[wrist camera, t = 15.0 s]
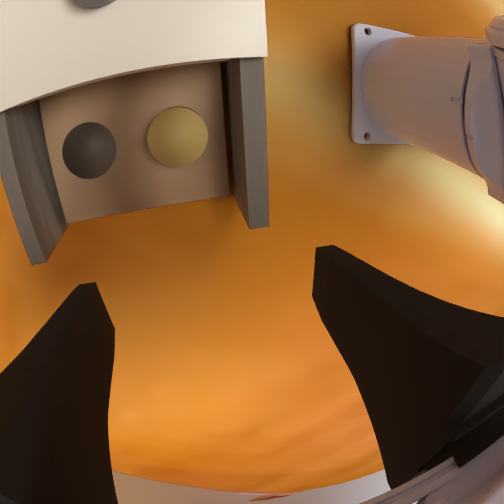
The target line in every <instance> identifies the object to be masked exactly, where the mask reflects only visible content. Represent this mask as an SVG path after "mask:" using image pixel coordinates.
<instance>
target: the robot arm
mask: <svg viewBox="0 0 504 504" xmlns="http://www.w3.org/2000/svg"><path fill="white" fill-rule="evenodd" d="M365 29H367V30H368V35H366V34H365V32H364V30H365ZM485 33H486V37H487V39H481V38H468V37H446V36H414V35H411V34H407V33H403V32H399V31H395V30H391V29H387V28H382V27H377V26H373V25H367V24H362V23H356V24H354V25H353V26H352V27H351V38H352V129H351V137H352V140H353V141H354V142H356V143H359V144H412V145H415V146H417V147H419V148H422V149H424V150H426V151H428V152H431V153H433V154H435V155H437V156H439V157H442V158H444V159H446V160H448V161H450V162H452V163H454V164H456V165H458V166H460V167H462V168H464V169H466V170H468V171H470V172H472V173H474V174H476V175H478V176H480V177H481V178H483V179H484V180H485V181H486V183H487V186H488V194H489V195H490V196H492V197H493V198H495V199H497V200H498V201H500V202H501V203H503V204H504V15H503V16H496V17H494V18H493V20H492V21H491V23H490V25H489V26H487V27H486V28H485ZM365 133H367V138H366V139H364V134H365ZM312 297H313V300H314V302H315V305H316V307H317V310H318V312H319V315H320V317H321V320H322V322H323V323H324V325H325V327H326V329H327V331H328V332H329V334H330V336H331V338H332V339H333V341H334V343H335V345H336V346H337V348H338V350H339V352H340V353H341V355H342V357H343V359H344V360H345V362H346V364H347V366H348V368H349V369H350V371H351V373H352V375H353V377H354V379H355V381H356V384H357V386H358V389H359V391H360V394H361V396H362V399H363V401H364V404H365V406H366V409H367V412H368V415H369V417H370V420H371V423H372V426H373V429H374V432H375V435H376V439H377V442H378V445H379V448H380V452H381V456H382V460H383V464H384V468H385V472H386V477H387V481H388V484H389V486H390V488H391V490H390V491H388V492H386V493H384V494H382V495H379V496H377V497H375V498H372V499H370V500H368V501H365V502H363V503H360V504H412V503H414V502H416V501H418V500H419V499H420V500H419V501H418V502H417V504H504V317H499V316H494V315H490V314H486V313H481V312H478V311H474V310H470V309H467V308H464V307H461V306H458V305H455V304H452V303H449V302H446V301H443V300H441V299H438V298H436V297H433V296H431V295H428V294H426V293H424V292H421V291H419V290H417V289H415V288H413V287H410V286H408V285H407V284H405V283H403V282H401V281H399V280H397V279H395V278H393V277H391V276H389V275H387V274H385V273H383V272H382V271H380V270H378V269H376V268H374V267H373V266H371V265H369V264H367V263H366V262H364V261H362V260H360V259H359V258H357V257H355V256H353V255H352V254H350V253H348V252H346V251H344V250H342V249H340V248H338V247H336V246H334V245H329V246H323V247H317V248H316V253H315V267H314V280H313V291H312ZM114 350H115V328H114V326H113V323H112V321H111V319H110V316H109V314H108V312H107V309H106V307H105V305H104V302H103V300H102V297H101V295H100V292H99V290H98V287H97V285H96V282H93V283H87V284H80V285H78V286H77V287H76V288H75V289H74V290H73V291H72V293H71V294H70V295H69V296H68V297H67V298H66V299H65V301H64V302H63V303H62V304H61V305H60V307H59V308H58V309H57V310H56V311H55V313H54V314H53V315H52V316H51V317H50V319H49V320H48V321H47V322H46V324H45V325H44V326H43V327H42V328H41V330H40V331H39V332H38V333H37V334H36V335H35V336H34V338H33V339H32V340H31V341H30V342H29V344H28V345H27V346H26V347H25V348H24V349H23V350H22V352H21V353H20V354H19V355H18V356H17V357H16V358H15V359H14V360H13V361H12V362H11V363H10V364H9V365H8V366H7V367H6V368H5V369H4V370H3V371H2V372H1V373H0V504H118V501H117V497H116V492H115V487H114V481H113V475H112V468H111V460H110V451H109V438H108V408H109V398H110V388H111V379H112V371H113V363H114Z"/></svg>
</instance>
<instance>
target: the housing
mask: <svg viewBox="0 0 504 504" xmlns="http://www.w3.org/2000/svg"><path fill="white" fill-rule="evenodd" d="M225 66H226V82H227V97H228V112H229V127H230V141H231V155H232V169H233V182H234V195H235V199H236V201H237V203H238V205H239V208H240V210H241V212H242V214H243V216H244V219H245V221H246V223H247V225H248V227H249V229H255V228H262V227H269V195H268V163H267V134H266V109H265V85H264V64H263V58H236V59H229V60H227V61H225ZM0 173H1V177H2V181H3V185H4V188H5V192H6V195H7V198H8V202H9V205H10V208H11V211H12V214H13V217H14V220H15V223H16V226H17V228H18V231H19V234H20V237H21V239H22V242H23V245H24V247H25V250H26V252H27V255H28V257H29V259H30V262H31V264H32V265H35V264H41V263H46V262H47V260H48V259H49V257H50V255H51V253H52V252H53V250H54V248H55V246H56V245H57V243H58V241H59V240H60V238H61V236H62V235H63V233H64V232H65V230H66V228H67V227H68V224H69V223H74V222H78V221H83V220H88V219H93V218H98V217H103V216H109V215H114V214H119V213H125V212H130V211H136V210H142V209H148V208H153V207H159V206H166V205H172V204H178V203H185V202H191V201H198V200H205V199H212V198H219V197H226V196H230V190H229V178H228V165H227V153H226V139H225V126H224V112H223V98H222V83H221V68H220V62H209V63H199V64H190V65H182V66H174V67H167V68H161V69H155V70H149V71H143V72H138V73H133V74H128V75H123V76H119V77H114V78H110V79H106V80H101V81H97V82H94V83H90V84H86V85H82V86H79V87H75V88H72V89H69V90H65V91H62V92H59V93H56V94H53V95H50V96H47V97H44V98H41V99H38V100H36V101H33V102H30V103H28V104H25V105H21V106H17V107H14V108H10V109H8V110H5V111H3V112H1V113H0Z"/></svg>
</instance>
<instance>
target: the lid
mask: <svg viewBox="0 0 504 504" xmlns="http://www.w3.org/2000/svg"><path fill="white" fill-rule="evenodd" d="M264 57H268V55H267V36H266V17H265V0H0V113H1V112H3V111H5V110H8V109H10V108H14V107H17V106H21V105H25V104H28V103H30V102H33V101H36V100H38V99H41V98H44V97H47V96H50V95H53V94H56V93H59V92H62V91H65V90H69V89H72V88H75V87H79V86H82V85H86V84H90V83H94V82H97V81H101V80H106V79H110V78H114V77H119V76H123V75H128V74H133V73H138V72H143V71H149V70H155V69H161V68H167V67H174V66H182V65H190V64H199V63H209V62H221V61H227V60H229V59H236V58H264Z"/></svg>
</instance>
